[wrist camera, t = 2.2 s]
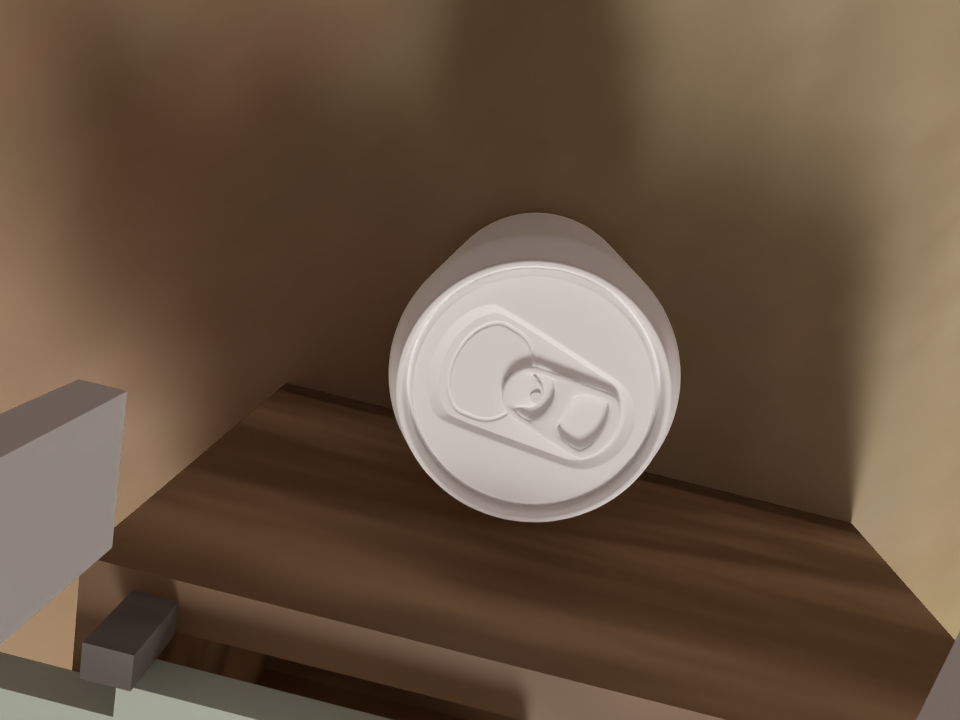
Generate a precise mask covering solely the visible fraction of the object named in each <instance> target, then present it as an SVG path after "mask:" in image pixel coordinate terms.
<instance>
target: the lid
mask: <svg viewBox="0 0 960 720" xmlns="http://www.w3.org/2000/svg"><path fill="white" fill-rule="evenodd" d="M79 678H80V672H76V671H72V670H68V669H64V668H60V667H56V666H52V665H48V664H45V663H41V662H37V661H33V660H29V659H25V658H21V657H17V656H13V655H9V654H6V653H2V652H0V720H392V719H388V718H385V717H381V716H377V715H373V714H369V713H365V712H361V711H357V710H353V709H349V708H345V707H342V706H338V705H334V704H330V703H326V702H322V701H318V700H314V699H310V698H306V697H302V696H299V695H295V694H291V693H287V692H283V691H279V690H275V689H271V688H267V687H263V686H259V685H256V684H252V683H248V682H244V681H240V680H236V679H232V678H228V677H224V676H220V675H217V674H213V673H209V672H205V671H201V670H197V669H193V668H189V667H185V666H181V665H177V664H174V663H170V662H166V661H162V660H158V659H155V661H154V662H153V663H152V664H151V666H150V667H149V668H148V670H147V671H146V672H145V673H144V675H143V676H142V677H141V678H140V680H139V681H138V682H137V684H136V685H135V686H134V687H133V689H132V690H131V691H126V690H122V689H118V688H114V687H111V686H107V685H103V684H99V683H95V682H91V681H87V680H83V679H79Z"/></svg>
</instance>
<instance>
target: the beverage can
mask: <svg viewBox="0 0 960 720" xmlns="http://www.w3.org/2000/svg"><path fill="white" fill-rule="evenodd" d="M680 383H681V368H680V357H679V351H678V346H677V342H676V338H675V335H674V331H673V329H672V326H671V324H670V321H669V319H668V317H667V315H666V313H665V311H664V309H663V307H662V305H661V304H660V302H659V301H658V299H657V298H656V296H655V295H654V293H653V292H652V291H651V290H650V288H649V287H648V286H647V285H646V284H645V282H644V281H643V280H642V279H641V278H640V277H639V276H638V275H637V274H636V273H635V272H634V271H633V270H632V268H631V267H630V266H629V265H628V264H627V263H626V262H625V261H624V260H623V259H622V258H621V257H620V256H619V255H618V254H617V253H616V251H615V250H614V249H613V248H612V247H611V246H610V245H609V244H608V243H607V242H606V241H605V240H604V239H603V238H602V237H601V236H599V235H598V234H597V233H596V232H594V231H593V230H591V229H590V228H588V227H587V226H585V225H583V224H581V223H579V222H577V221H575V220H572V219H570V218H567V217H563V216H560V215H555V214H549V213H523V214H517V215H512V216H509V217H505V218H502V219H500V220H497V221H495V222H493V223H491V224H489V225H487V226H485V227H484V228H482V229H481V230H479V231H478V232H476V233H475V234H474V235H472V236H471V237H470V238H469V239H468V240H467V241H466V242H465V243H464V244H463V245H462V246H461V247H460V248H459V249H457V250H456V251H455V252H454V253H453V254H452V255H451V256H450V257H449V258H448V259H447V260H446V261H445V262H444V263H443V264H442V265H441V266H440V267H439V268H438V269H437V270H436V271H435V272H434V273H433V274H432V275H431V276H430V277H429V278H428V279H427V280H426V281H425V282H424V283H423V284H422V285H421V287H420V288H419V289H418V290H417V292H416V293H415V294H414V296H413V297H412V299H411V300H410V302H409V303H408V305H407V307H406V308H405V310H404V312H403V314H402V316H401V318H400V321H399V323H398V326H397V328H396V331H395V334H394V338H393V342H392V346H391V352H390V358H389V390H390V397H391V403H392V407H393V411H394V414H395V417H396V420H397V423H398V425H399V428H400V430H401V432H402V434H403V437H404V438H405V440H406V442H407V444H408V446H409V447H410V449H411V451H412V453H413V455H414V456H415V458H416V459H417V461H418V462H419V464H420V465H421V467H422V468H423V469H424V470H425V472H426V473H427V474H428V475H429V476H430V477H431V478H432V479H433V480H434V481H435V482H436V483H437V484H438V485H439V486H440V487H441V488H442V489H443V490H445V491H446V492H447V493H448V494H450V495H451V496H453V497H454V498H455V499H457V500H459V501H460V502H462V503H464V504H465V505H467V506H469V507H471V508H473V509H475V510H478V511H480V512H483V513H485V514H488V515H491V516H495V517H498V518H502V519H507V520H513V521H521V522H549V521H557V520H562V519H567V518H571V517H575V516H578V515H581V514H584V513H587V512H589V511H592V510H594V509H596V508H598V507H600V506H602V505H604V504H606V503H607V502H609V501H611V500H612V499H614V498H615V497H617V496H618V495H619V494H621V493H622V492H623V491H624V490H626V489H627V488H628V487H629V486H630V485H631V484H632V483H633V482H634V481H635V480H636V479H637V478H638V477H639V476H640V475H641V474H642V473H643V471H644V470H645V469H646V468H647V466H648V465H649V463H650V462H651V460H652V459H653V457H654V456H655V455H656V453H657V452H658V450H659V449H660V447H661V445H662V444H663V442H664V440H665V438H666V436H667V434H668V432H669V430H670V427H671V425H672V422H673V419H674V416H675V413H676V409H677V405H678V400H679V393H680Z"/></svg>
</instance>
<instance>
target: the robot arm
mask: <svg viewBox="0 0 960 720" xmlns="http://www.w3.org/2000/svg"><path fill="white" fill-rule="evenodd" d="M126 398H127V391H124V390H120V389H116V388H112V387H108V386H104V385H100V384H96V383H92V382H88V381H84V380H80V379H79V380H76V381H74V382H72V383H70V384H67V385H65V386H63V387H60V388H58V389H56V390H54V391H51V392H49V393H47V394H45V395H42V396H40V397H38V398H36V399H33V400H31V401H29V402H26V403H24V404H22V405H20V406H17V407H15V408H13V409H11V410H8V411H6V412H4V413H2V414H0V645H1V644H2V643H3V642H4V641H5V640H7V639H8V638H9V637H10V636H11V635H12V634H13V633H15V632H16V631H17V630H18V629H19V628H20V627H21V626H23V625H24V624H25V623H26V622H27V621H28V620H30V619H31V618H32V617H33V616H34V615H35V614H36V613H38V612H39V611H40V610H41V609H42V608H43V607H44V606H46V605H47V604H48V603H49V602H50V601H51V600H53V599H54V598H55V597H56V596H57V595H58V594H59V593H61V592H62V591H63V590H64V589H65V588H66V587H67V586H69V585H70V584H71V583H72V582H73V581H74V580H75V579H77V578H78V577H79V576H80V575H81V574H82V573H84V572H85V571H86V570H87V569H88V568H89V567H90V566H92V565H93V564H94V563H95V562H96V561H97V560H98V559H100V558H101V557H102V556H103V555H104V554H105V553H107V552H108V551H109V550H110V549H111V548H112V544H113V533H114V523H115V513H116V502H117V492H118V481H119V471H120V460H121V450H122V440H123V429H124V419H125V408H126ZM916 720H960V632H959V634H958V636H957V638H956V640H955V642H954V645H953V647H952V649H951V651H950V653H949V655H948V657H947V659H946V661H945V663H944V665H943V667H942V669H941V671H940V673H939V675H938V677H937V679H936V681H935V683H934V685H933V687H932V689H931V691H930V693H929V695H928V697H927V699H926V701H925V703H924V705H923V707H922V709H921V711H920V713H919V715H918V717H917V719H916Z"/></svg>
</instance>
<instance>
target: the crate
mask: <svg viewBox="0 0 960 720" xmlns="http://www.w3.org/2000/svg"><path fill="white" fill-rule="evenodd" d="M954 642H955V640H954V639H953V638H952V637H951V635H950V634H949V633H948V632H947V631H946V630H945V629H944V627H943V626H942V625H941V624H940V623H939V622H938V621H937V620H936V618H935V617H934V616H933V615H932V614H931V613H930V612H929V611H928V609H927V608H926V607H925V606H924V605H923V604H922V603H921V601H920V600H919V599H918V598H917V597H916V596H915V595H914V594H913V592H912V591H911V590H910V589H909V588H908V587H907V586H906V584H905V583H904V582H903V581H902V580H901V579H900V578H899V577H898V575H897V574H896V573H895V572H894V571H893V570H892V569H891V568H890V566H889V565H888V564H887V563H886V562H885V561H884V560H883V558H882V557H881V556H880V555H879V554H878V553H877V552H876V551H875V549H874V548H873V547H872V546H871V545H870V544H869V543H868V541H867V540H866V539H865V538H864V537H863V536H862V535H861V534H860V532H859V531H858V530H857V529H856V528H855V527H854V526H853V525H852V524H851V523H847V522H843V521H839V520H835V519H831V518H827V517H823V516H819V515H815V514H811V513H807V512H803V511H799V510H795V509H791V508H787V507H783V506H779V505H775V504H771V503H767V502H763V501H759V500H755V499H751V498H746V497H742V496H738V495H734V494H730V493H726V492H722V491H718V490H714V489H710V488H706V487H702V486H698V485H694V484H690V483H686V482H682V481H678V480H674V479H670V478H666V477H662V476H658V475H654V474H650V473H646V472H643V473H642V474H641V475H640V476H639V477H638V478H637V479H636V480H635V481H634V482H633V483H632V484H631V485H630V486H629V487H628V488H627V489H626V490H624V491H623V492H622V493H621V494H619V495H618V496H617V497H615V498H614V499H612V500H611V501H609V502H607V503H606V504H604V505H602V506H600V507H598V508H596V509H594V510H592V511H589V512H587V513H584V514H581V515H578V516H575V517H571V518H567V519H562V520H557V521H549V522H521V521H513V520H507V519H502V518H498V517H495V516H491V515H488V514H485V513H483V512H480V511H478V510H475V509H473V508H471V507H469V506H467V505H465V504H464V503H462V502H460V501H459V500H457V499H455V498H454V497H453V496H451V495H450V494H448V493H447V492H446V491H445V490H443V489H442V488H441V487H440V486H439V485H438V484H437V483H436V482H435V481H434V480H433V479H432V478H431V477H430V476H429V475H428V474H427V473H426V472H425V470H424V469H423V468H422V467H421V465H420V464H419V462H418V461H417V459H416V458H415V456H414V455H413V453H412V451H411V449H410V447H409V446H408V444H407V442H406V440H405V438H404V437H403V434H402V432H401V430H400V428H399V425H398V423H397V420H396V417H395V414H394V411H393V410H391V409H387V408H383V407H379V406H375V405H371V404H367V403H363V402H359V401H355V400H351V399H347V398H343V397H339V396H335V395H331V394H327V393H323V392H319V391H315V390H311V389H307V388H303V387H298V386H294V385H290V384H285V385H284V386H282V387H281V388H280V389H279V390H278V391H276V392H275V393H274V394H273V395H272V396H270V397H269V398H268V399H267V400H266V401H264V402H263V403H262V404H261V405H260V406H259V407H257V408H256V409H255V410H254V411H253V412H251V413H250V414H249V415H248V416H247V417H245V418H244V419H243V420H242V421H241V422H240V423H238V424H237V425H236V426H235V427H234V428H232V429H231V430H230V431H229V432H228V433H226V434H225V435H224V436H223V437H222V438H221V439H219V440H218V441H217V442H216V443H215V444H213V445H212V446H211V447H210V448H209V449H207V450H206V451H205V452H204V453H203V454H202V455H200V456H199V457H198V458H197V459H196V460H194V461H193V462H192V463H191V464H190V465H188V466H187V467H186V468H185V469H184V470H183V471H181V472H180V473H179V474H178V475H177V476H175V477H174V478H173V479H172V480H171V481H169V482H168V483H167V484H166V485H165V486H164V487H162V488H161V489H160V490H159V491H158V492H156V493H155V494H154V495H153V496H152V497H150V498H149V499H148V500H147V501H146V502H145V503H143V504H142V505H141V506H140V507H139V508H137V509H136V510H135V511H134V512H133V513H131V514H130V515H129V516H128V517H127V518H126V519H124V520H123V521H122V522H121V523H120V524H118V525H117V526H116V527H115V528H114V533H113V544H112V548H111V549H110V550H109V551H108V552H107V553H105V554H104V555H103V556H102V557H101V558H100V559H98V560H97V561H96V562H95V563H94V564H93V565H92V566H90V567H89V568H88V569H87V570H86V571H85V572H84V573H82V574H81V575H80V576H79V588H78V602H77V615H76V628H75V641H74V654H73V667H72V671H76V672H80V678H79V679H83V680H87V681H91V682H95V683H99V684H103V685H107V686H111V687H114V688H118V689H122V690H126V691H131V690H132V689H133V687H134V686H135V685H136V684H137V682H138V681H139V680H140V678H141V677H142V676H143V675H144V673H145V672H146V671H147V670H148V668H149V667H150V666H151V664H152V663H153V662H154V661H155V659H158V660H162V661H166V662H170V663H174V664H177V665H181V666H185V667H189V668H193V669H197V670H201V671H205V672H209V673H213V674H217V675H220V676H224V677H228V678H232V679H236V680H240V681H244V682H248V683H252V684H256V685H259V686H263V687H267V688H271V689H275V690H279V691H283V692H287V693H291V694H295V695H299V696H302V697H306V698H310V699H314V700H318V701H322V702H326V703H330V704H334V705H338V706H342V707H345V708H349V709H353V710H357V711H361V712H365V713H369V714H373V715H377V716H381V717H385V718H388V719H392V720H916V719H917V717H918V715H919V713H920V711H921V709H922V707H923V705H924V703H925V701H926V699H927V697H928V695H929V693H930V691H931V689H932V687H933V685H934V683H935V681H936V679H937V677H938V675H939V673H940V671H941V669H942V667H943V665H944V663H945V661H946V659H947V657H948V655H949V653H950V651H951V649H952V647H953V645H954Z"/></svg>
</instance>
